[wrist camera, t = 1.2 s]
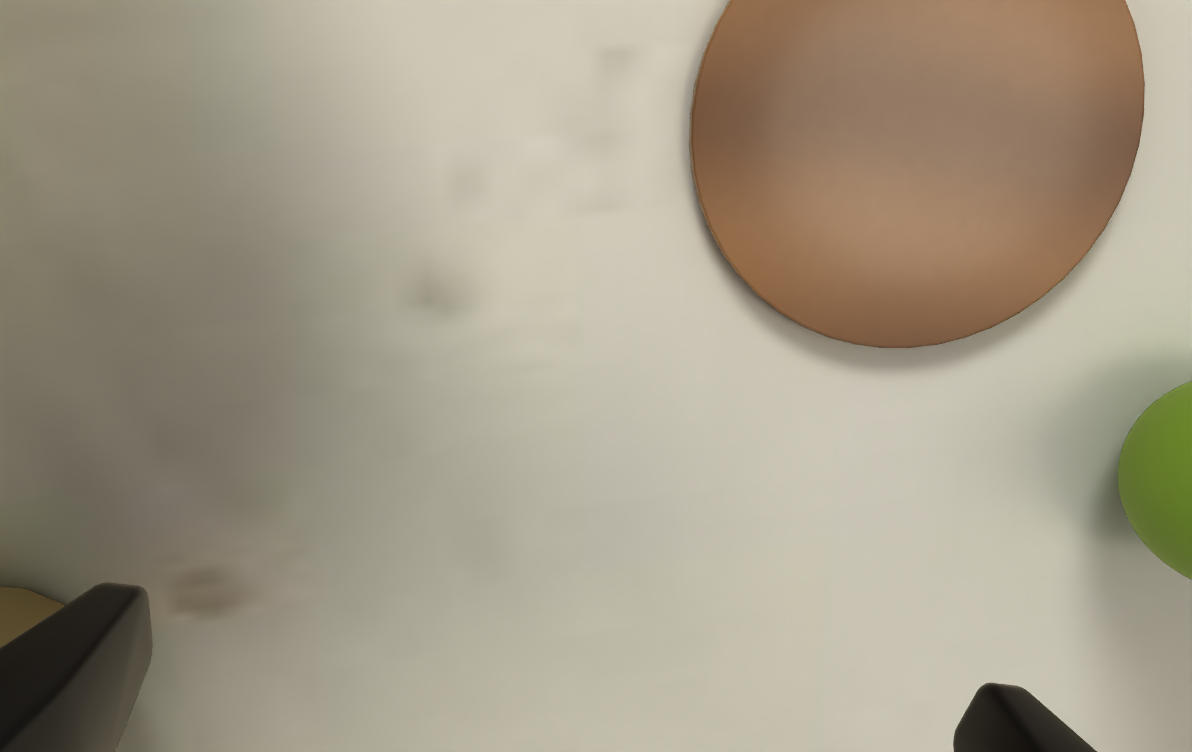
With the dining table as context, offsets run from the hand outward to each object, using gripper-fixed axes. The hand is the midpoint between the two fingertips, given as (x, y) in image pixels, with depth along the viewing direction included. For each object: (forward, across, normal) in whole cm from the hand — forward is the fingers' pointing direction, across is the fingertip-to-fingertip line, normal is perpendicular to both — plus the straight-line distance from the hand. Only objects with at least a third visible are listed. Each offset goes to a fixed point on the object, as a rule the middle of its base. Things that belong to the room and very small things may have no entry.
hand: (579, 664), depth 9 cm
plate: (+15, -8, -4) cm, 17 cm away
